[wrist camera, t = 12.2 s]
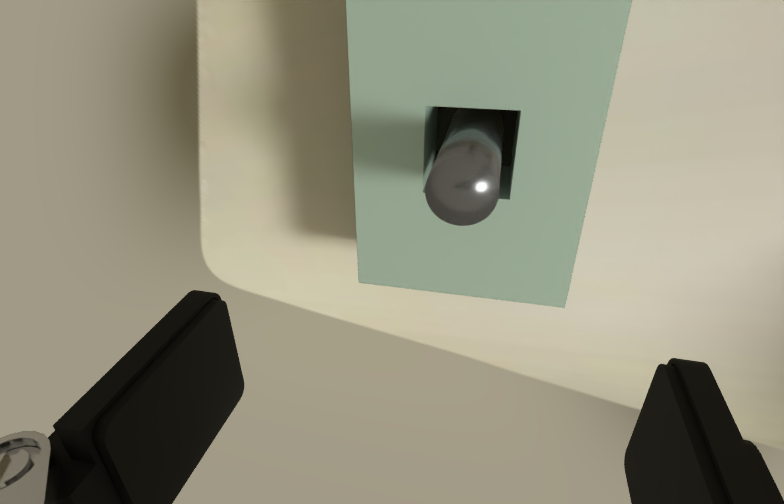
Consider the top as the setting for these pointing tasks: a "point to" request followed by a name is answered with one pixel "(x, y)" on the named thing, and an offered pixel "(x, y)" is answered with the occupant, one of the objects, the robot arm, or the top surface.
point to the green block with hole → (484, 91)
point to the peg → (467, 168)
